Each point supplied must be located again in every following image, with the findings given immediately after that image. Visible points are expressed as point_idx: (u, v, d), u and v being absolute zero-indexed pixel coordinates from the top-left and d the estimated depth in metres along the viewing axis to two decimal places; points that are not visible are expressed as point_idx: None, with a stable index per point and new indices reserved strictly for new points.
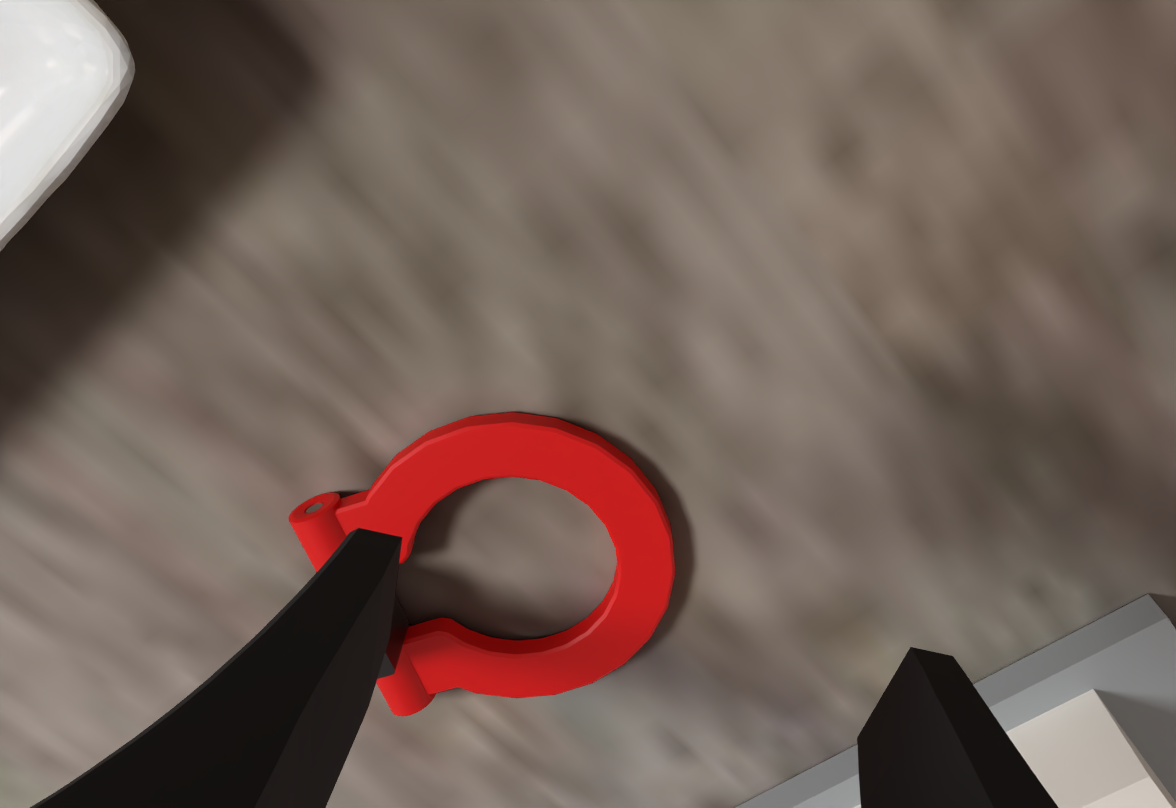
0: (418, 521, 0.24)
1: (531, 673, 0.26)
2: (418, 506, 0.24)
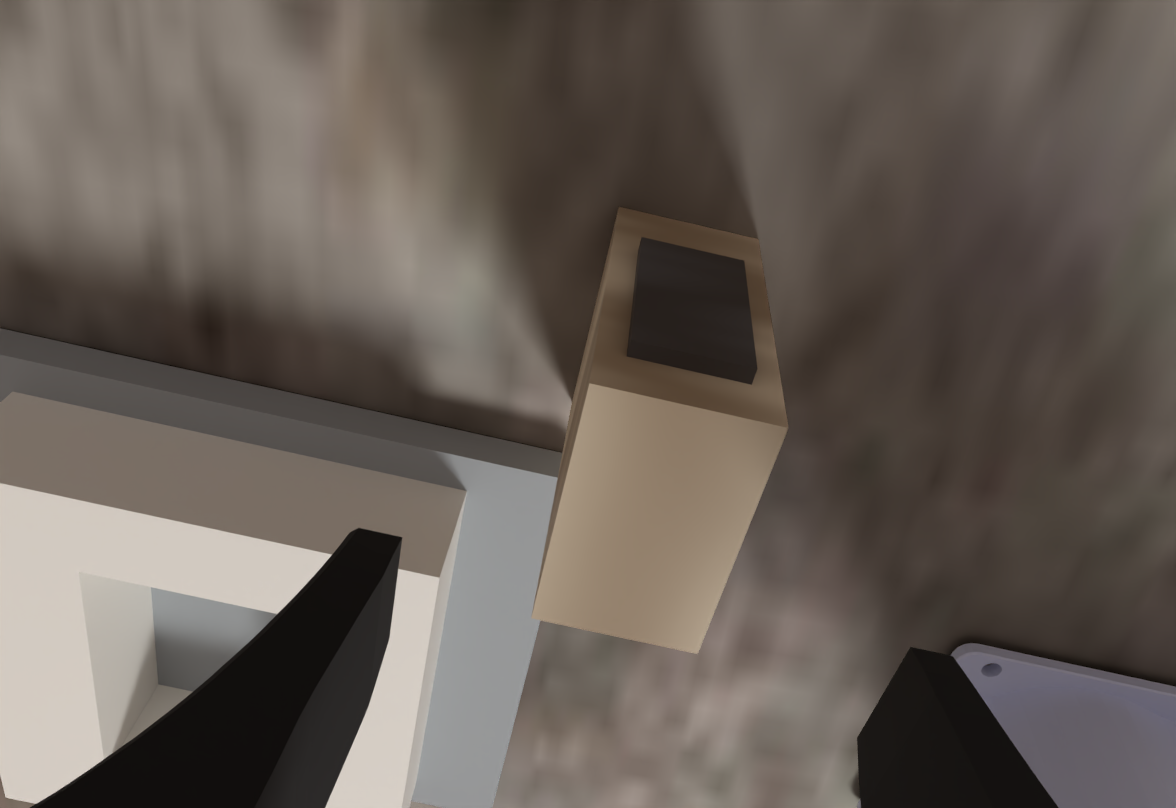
0: None
1: None
2: None
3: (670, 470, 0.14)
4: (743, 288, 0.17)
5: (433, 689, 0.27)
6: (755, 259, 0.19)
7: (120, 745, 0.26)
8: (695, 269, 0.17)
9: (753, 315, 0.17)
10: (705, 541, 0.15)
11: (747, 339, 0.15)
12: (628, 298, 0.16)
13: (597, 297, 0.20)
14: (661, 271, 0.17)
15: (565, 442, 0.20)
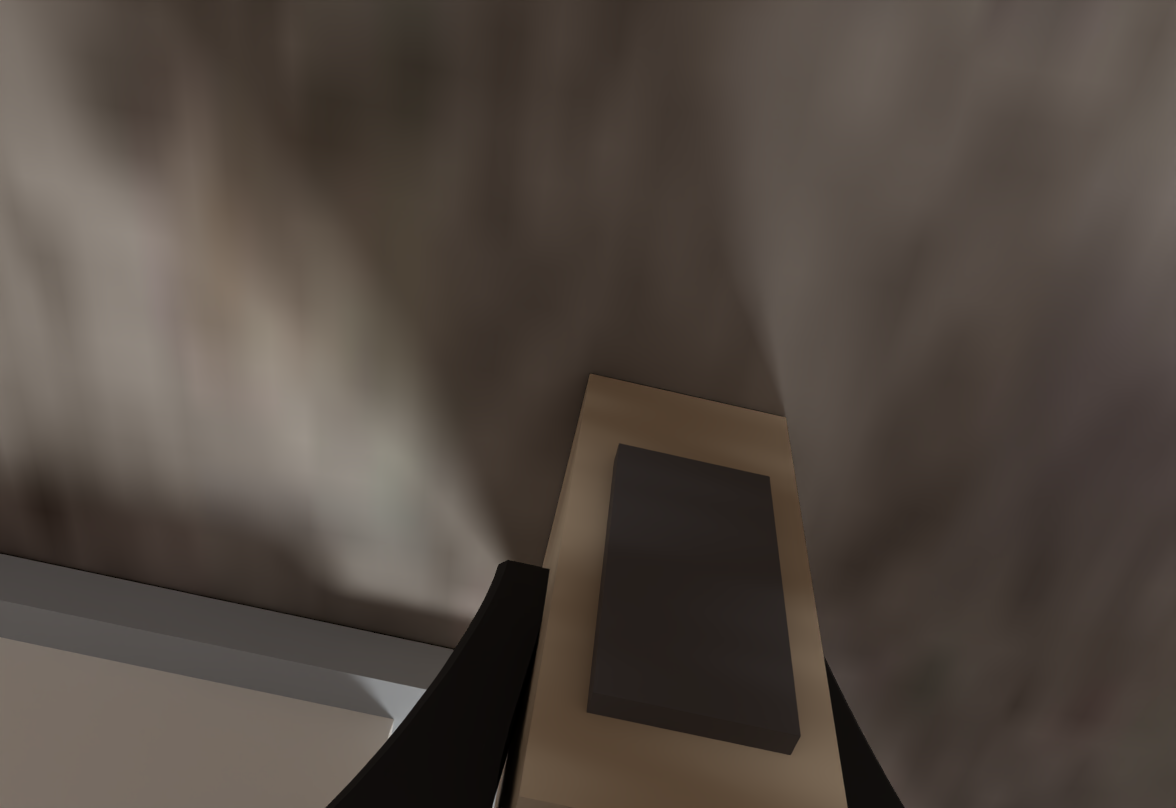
0: None
1: None
2: None
3: None
4: (771, 540, 0.11)
5: None
6: (783, 459, 0.13)
7: None
8: (698, 505, 0.11)
9: (786, 583, 0.11)
10: None
11: (781, 661, 0.10)
12: (596, 566, 0.11)
13: (562, 489, 0.15)
14: (647, 516, 0.11)
15: None
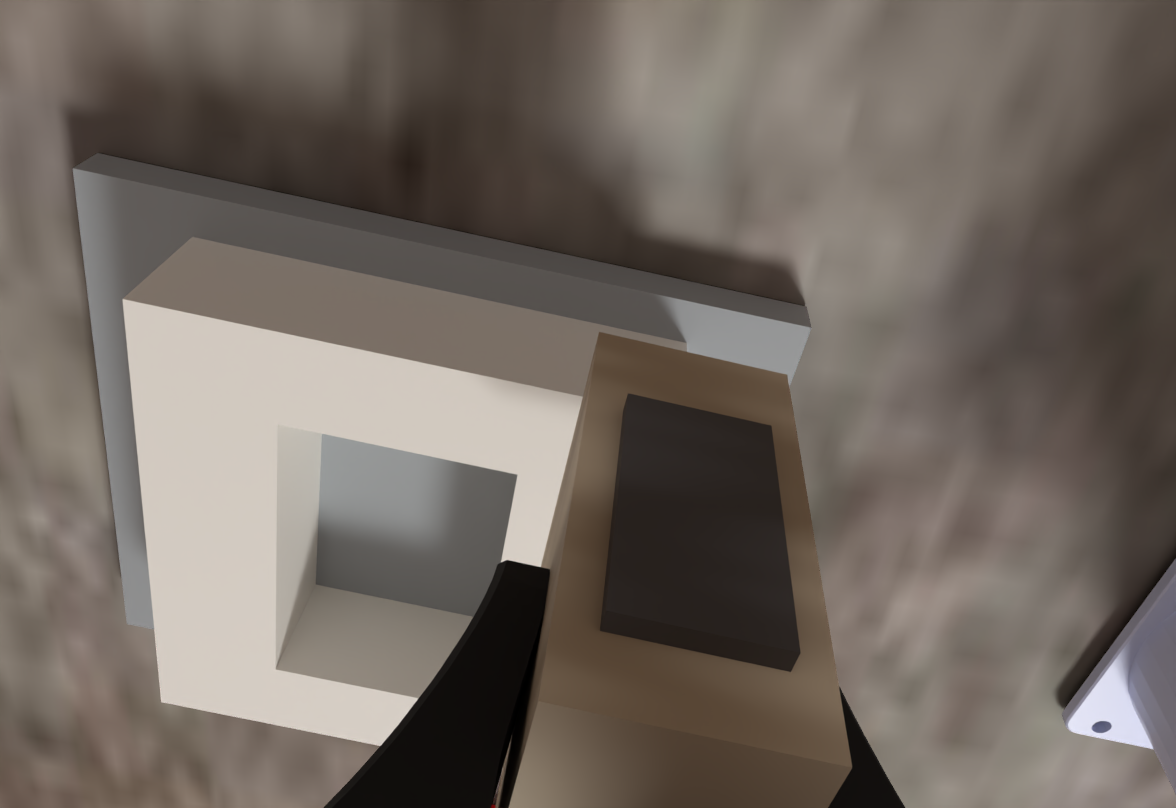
0: None
1: None
2: None
3: None
4: (772, 481, 0.12)
5: None
6: (784, 412, 0.14)
7: (287, 642, 0.24)
8: (703, 449, 0.12)
9: (787, 522, 0.12)
10: None
11: (782, 588, 0.10)
12: (607, 505, 0.11)
13: (571, 445, 0.15)
14: (656, 458, 0.12)
15: None
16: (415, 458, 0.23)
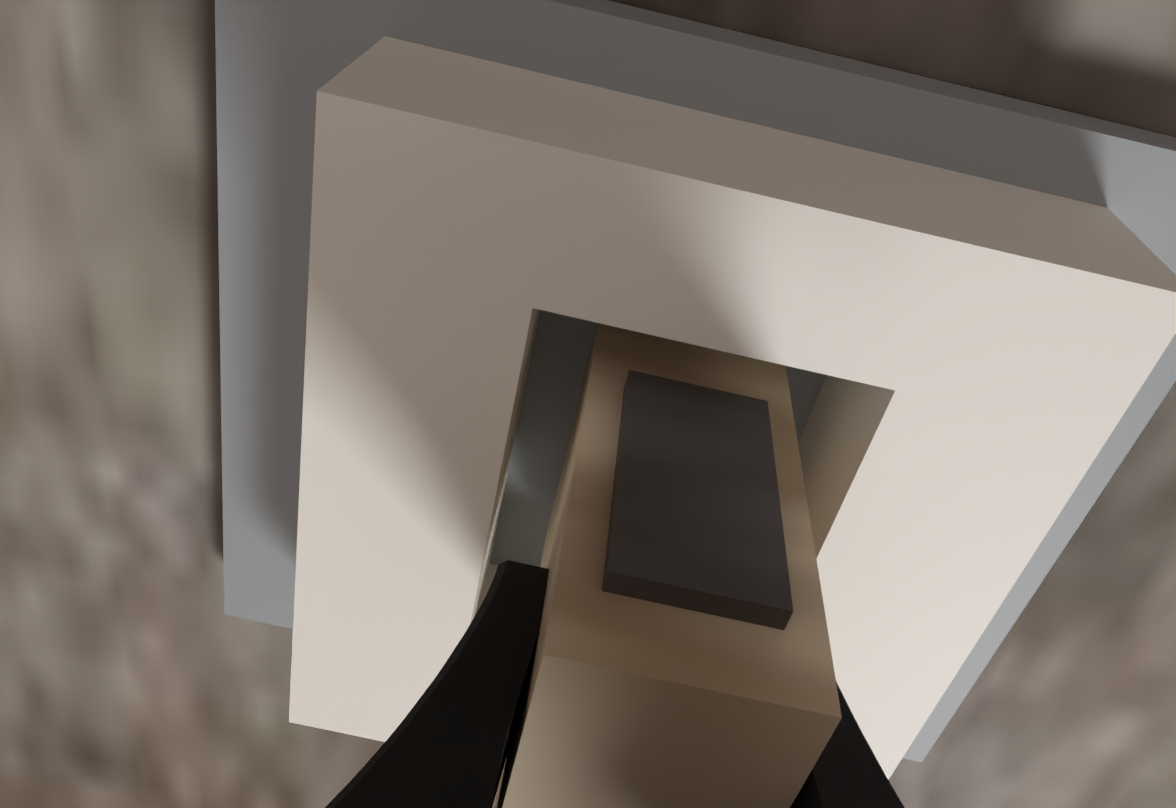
0: None
1: None
2: None
3: (665, 760, 0.10)
4: (769, 452, 0.12)
5: None
6: (781, 390, 0.14)
7: None
8: (701, 423, 0.12)
9: (782, 492, 0.12)
10: None
11: (777, 552, 0.11)
12: (609, 474, 0.12)
13: (574, 423, 0.16)
14: (655, 431, 0.12)
15: None
16: None
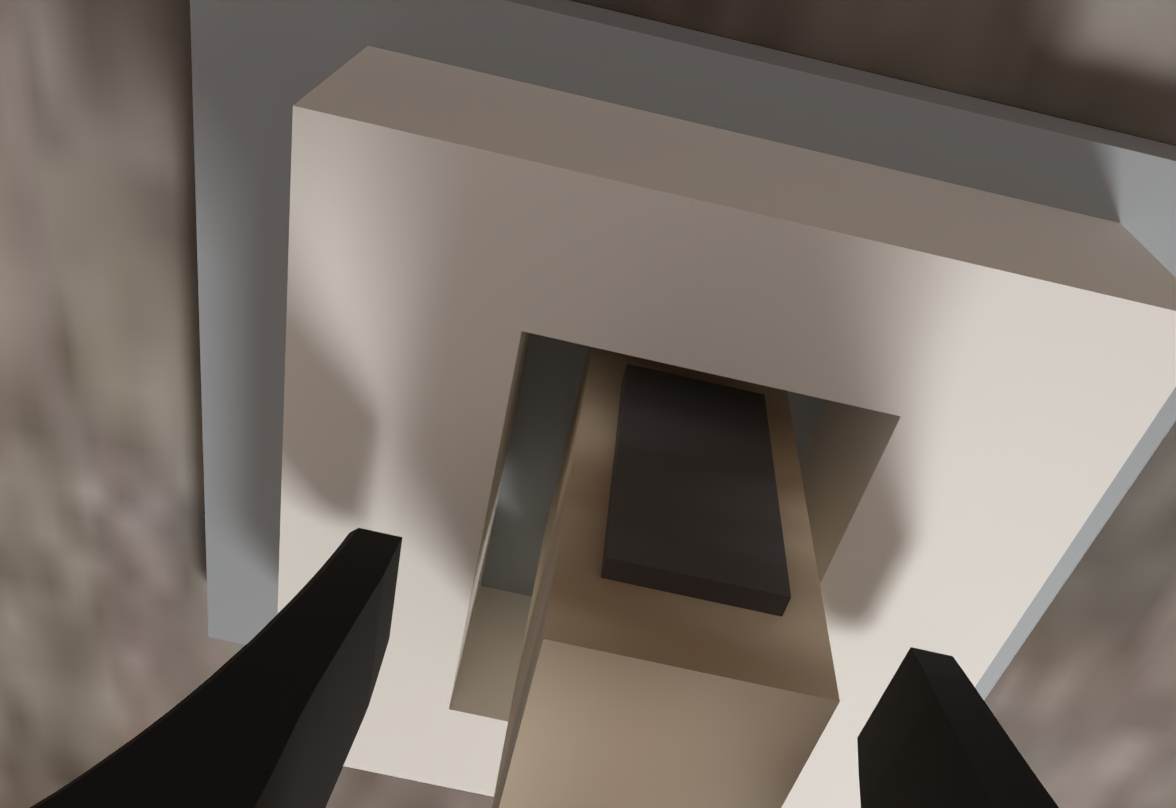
0: None
1: None
2: None
3: (663, 745, 0.10)
4: (765, 444, 0.12)
5: None
6: None
7: (458, 669, 0.17)
8: (699, 415, 0.12)
9: (779, 483, 0.12)
10: None
11: (774, 540, 0.11)
12: (607, 465, 0.12)
13: (572, 420, 0.16)
14: (653, 422, 0.12)
15: (530, 611, 0.15)
16: None
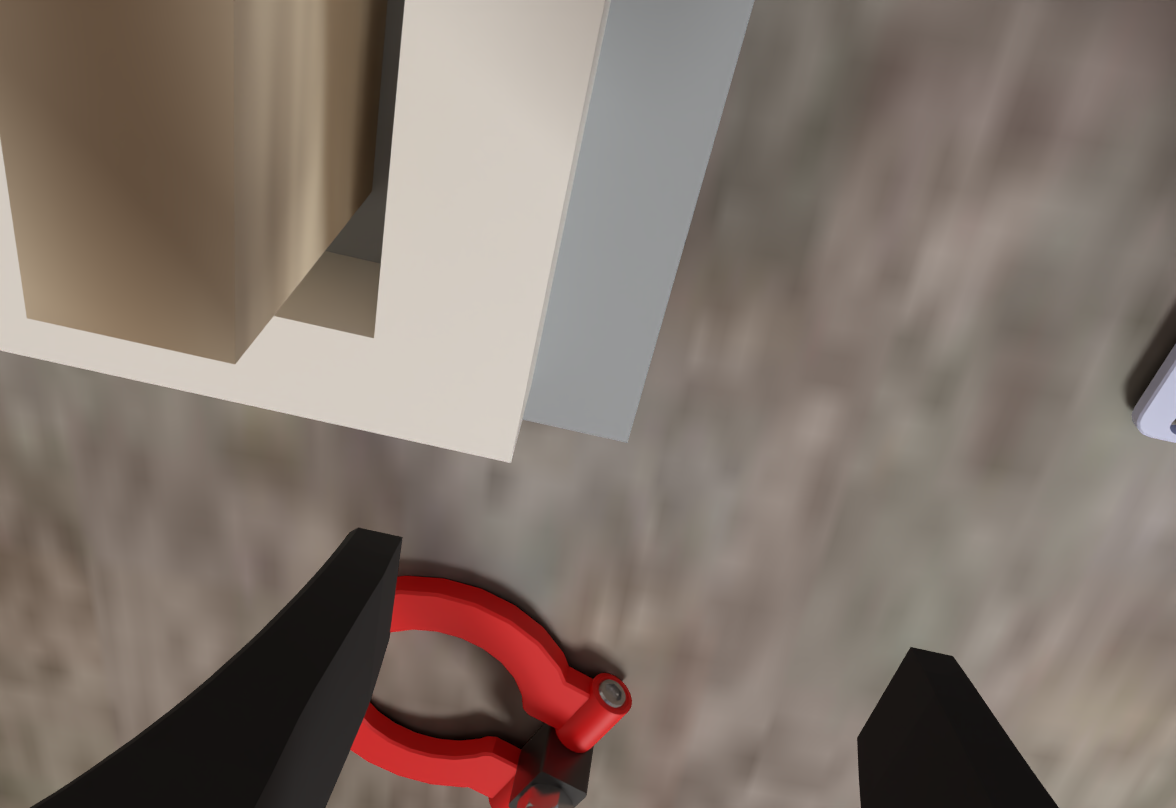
0: (453, 758, 0.30)
1: (505, 647, 0.27)
2: (442, 763, 0.30)
3: (113, 76, 0.11)
4: None
5: (571, 201, 0.19)
6: None
7: None
8: None
9: None
10: (190, 190, 0.12)
11: None
12: None
13: None
14: None
15: None
16: None
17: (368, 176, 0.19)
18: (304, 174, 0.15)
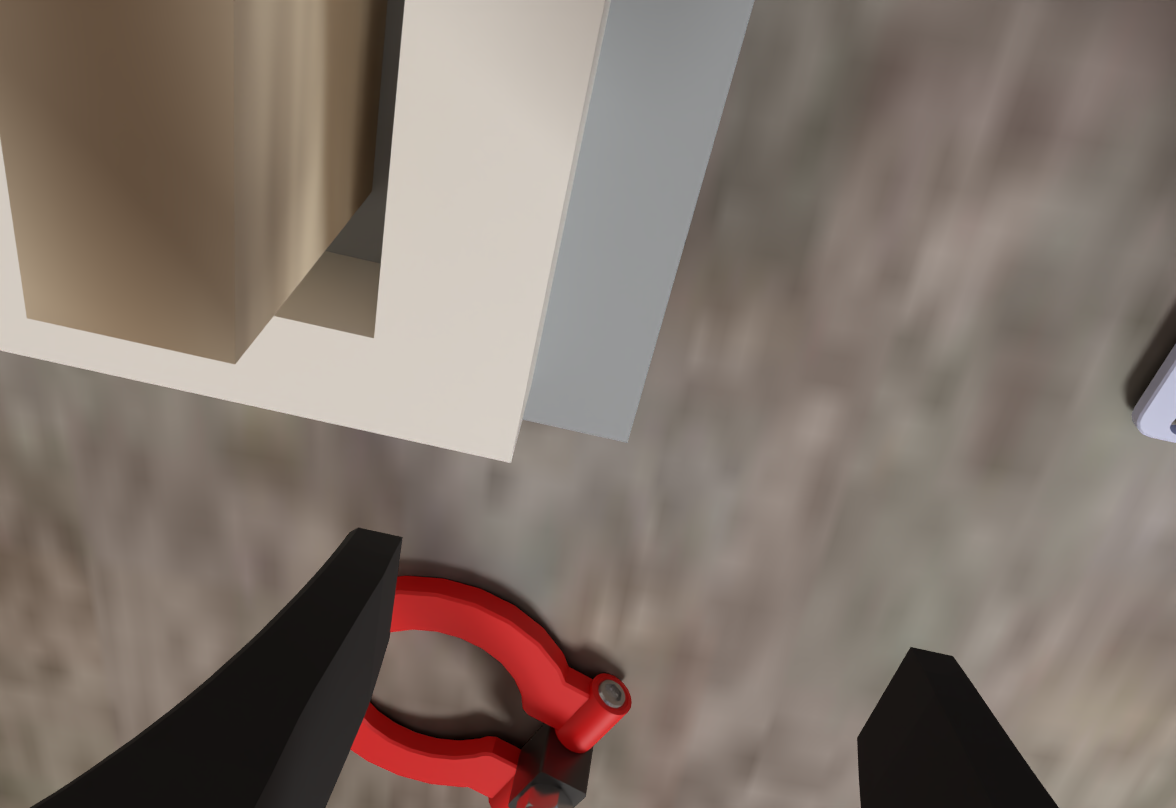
0: (452, 758, 0.30)
1: (505, 647, 0.27)
2: (441, 763, 0.30)
3: (113, 76, 0.11)
4: None
5: (571, 201, 0.19)
6: None
7: None
8: None
9: None
10: (190, 190, 0.12)
11: None
12: None
13: None
14: None
15: None
16: None
17: (368, 176, 0.19)
18: (304, 174, 0.15)
